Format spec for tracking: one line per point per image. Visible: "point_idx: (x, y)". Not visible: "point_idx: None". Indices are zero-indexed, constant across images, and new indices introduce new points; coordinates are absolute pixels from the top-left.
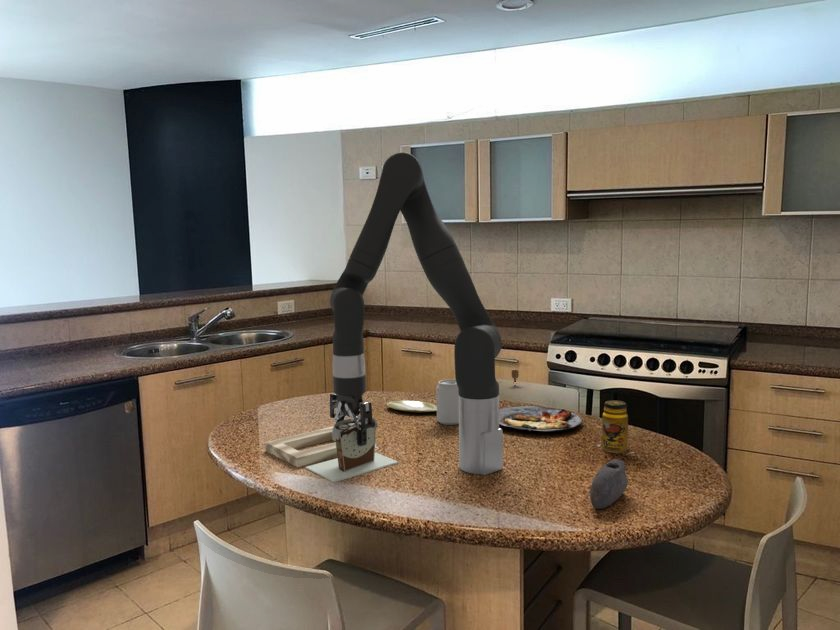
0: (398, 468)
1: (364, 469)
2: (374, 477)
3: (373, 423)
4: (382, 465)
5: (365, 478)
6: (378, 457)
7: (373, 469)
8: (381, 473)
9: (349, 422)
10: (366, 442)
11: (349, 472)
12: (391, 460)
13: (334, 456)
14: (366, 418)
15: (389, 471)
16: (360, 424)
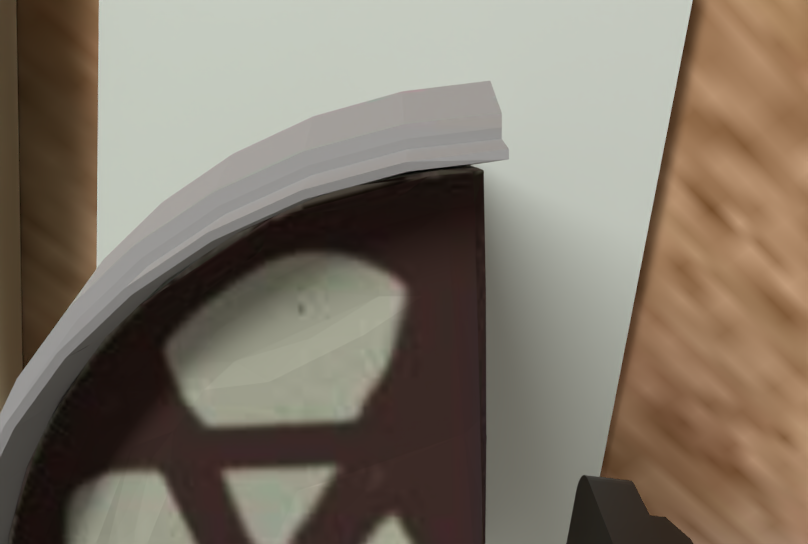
0: (784, 87)
1: (565, 385)
2: (745, 415)
3: (478, 212)
4: (632, 188)
5: (692, 480)
6: (406, 32)
7: (628, 319)
8: (730, 304)
9: (23, 531)
10: (669, 525)
11: (508, 520)
12: (601, 2)
13: (13, 313)
14: (209, 241)
15: (761, 214)
16: (315, 470)
